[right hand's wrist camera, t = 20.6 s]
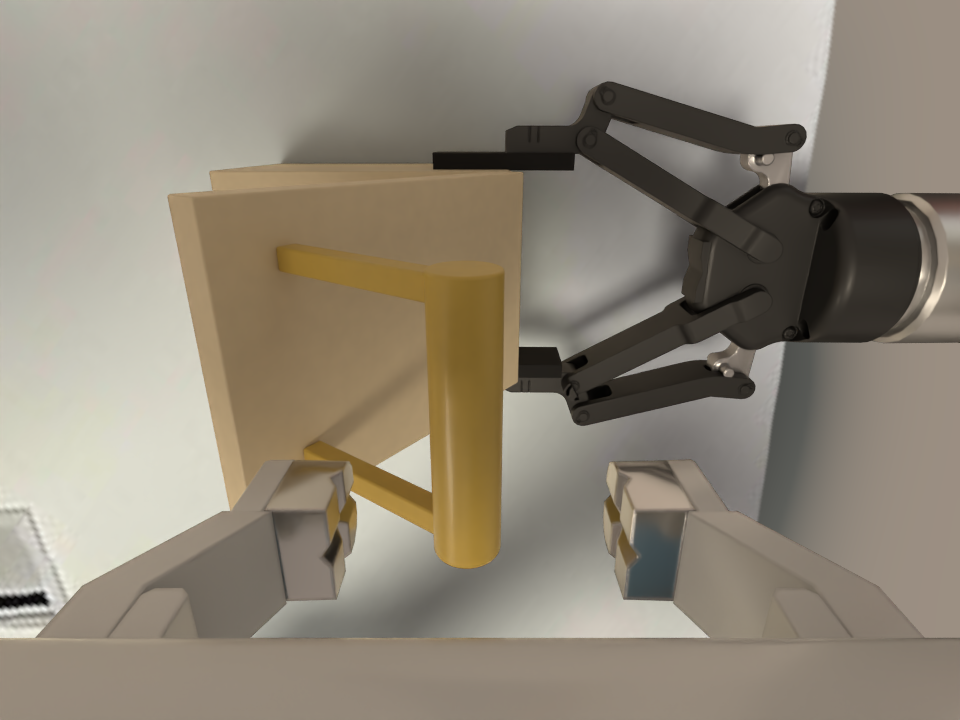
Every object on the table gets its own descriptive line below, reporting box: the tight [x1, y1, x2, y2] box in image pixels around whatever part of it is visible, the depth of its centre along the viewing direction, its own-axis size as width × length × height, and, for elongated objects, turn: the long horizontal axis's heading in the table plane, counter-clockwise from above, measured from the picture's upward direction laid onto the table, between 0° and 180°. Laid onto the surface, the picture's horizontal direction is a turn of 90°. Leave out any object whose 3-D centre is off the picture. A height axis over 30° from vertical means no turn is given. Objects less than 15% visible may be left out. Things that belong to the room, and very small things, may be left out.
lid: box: [168, 171, 523, 569], centre depth 18 cm, size 14×10×8 cm
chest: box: [210, 164, 511, 191], centre depth 31 cm, size 14×10×9 cm
